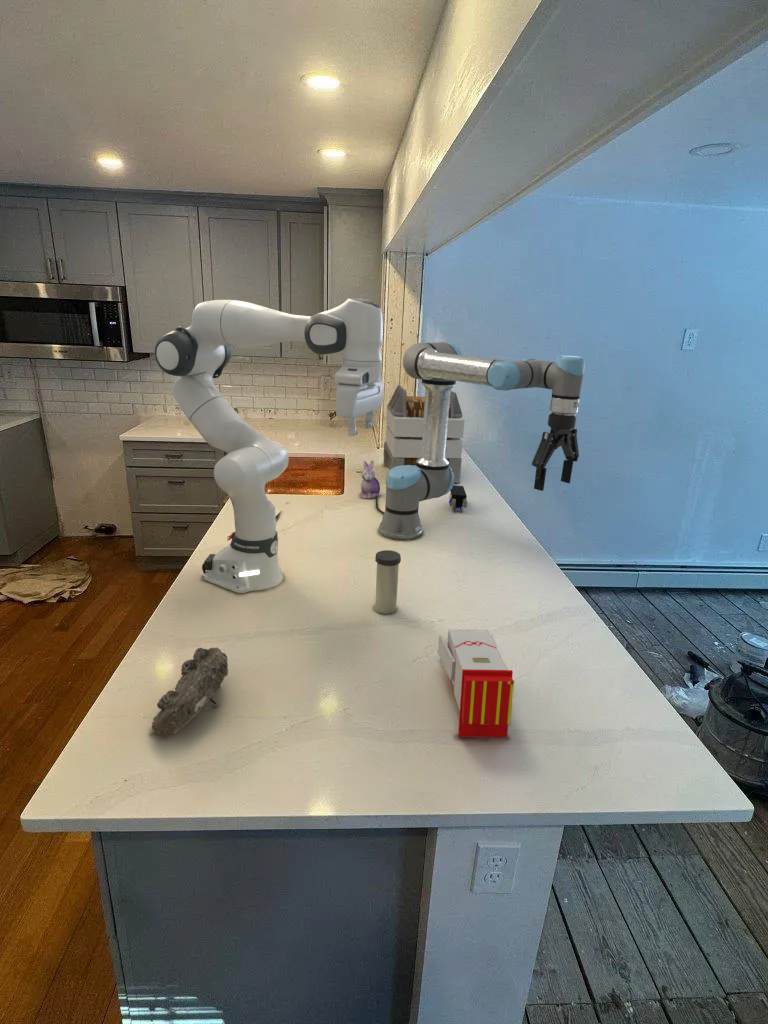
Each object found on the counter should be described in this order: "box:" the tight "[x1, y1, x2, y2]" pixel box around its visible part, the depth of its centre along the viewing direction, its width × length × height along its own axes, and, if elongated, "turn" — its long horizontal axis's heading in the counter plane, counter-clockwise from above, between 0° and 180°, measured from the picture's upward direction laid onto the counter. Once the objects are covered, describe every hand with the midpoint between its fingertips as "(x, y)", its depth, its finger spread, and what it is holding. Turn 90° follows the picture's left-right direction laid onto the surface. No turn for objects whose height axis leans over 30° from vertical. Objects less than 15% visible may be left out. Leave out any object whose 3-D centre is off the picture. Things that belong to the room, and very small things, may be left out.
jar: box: [374, 562, 400, 615], centre depth 147 cm, size 6×6×15 cm
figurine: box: [360, 460, 381, 499], centre depth 236 cm, size 9×10×15 cm
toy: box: [437, 628, 515, 738], centre depth 117 cm, size 12×13×30 cm
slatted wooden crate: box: [383, 384, 465, 484], centre depth 268 cm, size 34×33×41 cm
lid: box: [374, 549, 402, 566], centre depth 145 cm, size 6×6×2 cm
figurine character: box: [448, 484, 468, 512], centre depth 228 cm, size 7×8×15 cm
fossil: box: [152, 646, 229, 736], centre depth 110 cm, size 22×10×15 cm
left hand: (360, 431), depth 136 cm, fingers open, 8 cm apart
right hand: (552, 485), depth 166 cm, fingers open, 13 cm apart
